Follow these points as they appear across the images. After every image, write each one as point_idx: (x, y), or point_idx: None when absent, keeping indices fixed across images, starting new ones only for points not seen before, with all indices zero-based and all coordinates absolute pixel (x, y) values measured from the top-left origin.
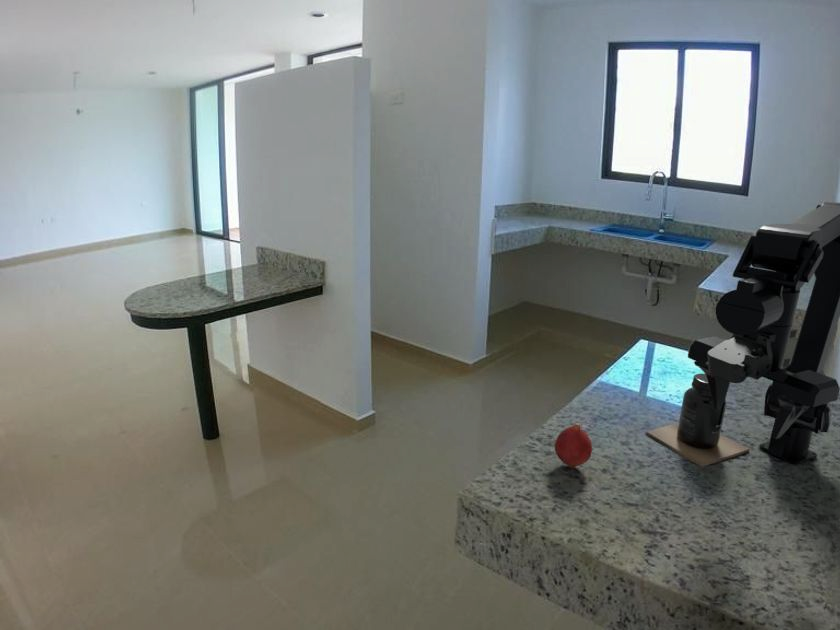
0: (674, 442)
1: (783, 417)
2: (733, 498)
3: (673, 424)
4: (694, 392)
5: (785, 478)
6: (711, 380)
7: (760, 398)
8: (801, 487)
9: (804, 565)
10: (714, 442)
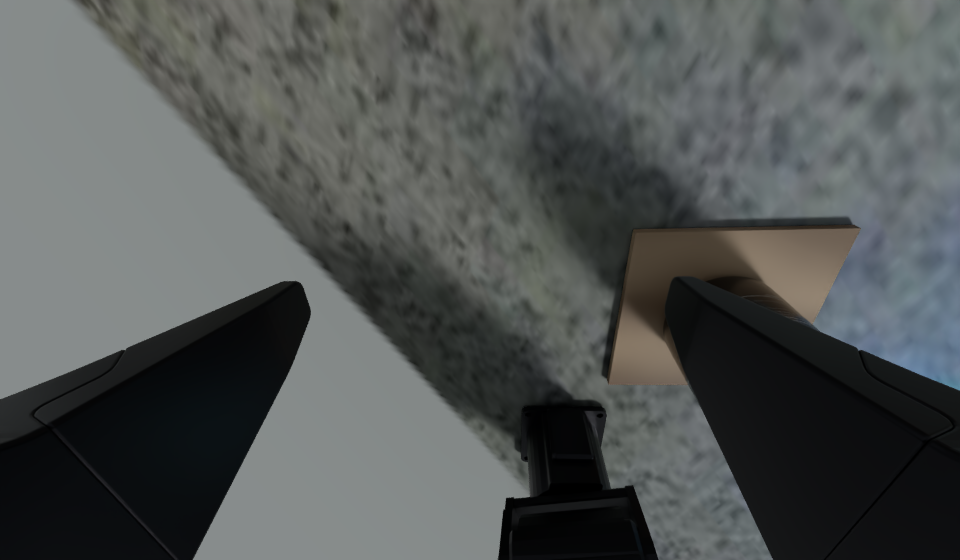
0: (755, 256)
1: (97, 366)
2: (493, 182)
3: None
4: None
5: (499, 356)
6: (952, 414)
7: (710, 539)
8: (463, 355)
9: (231, 101)
10: (669, 330)
